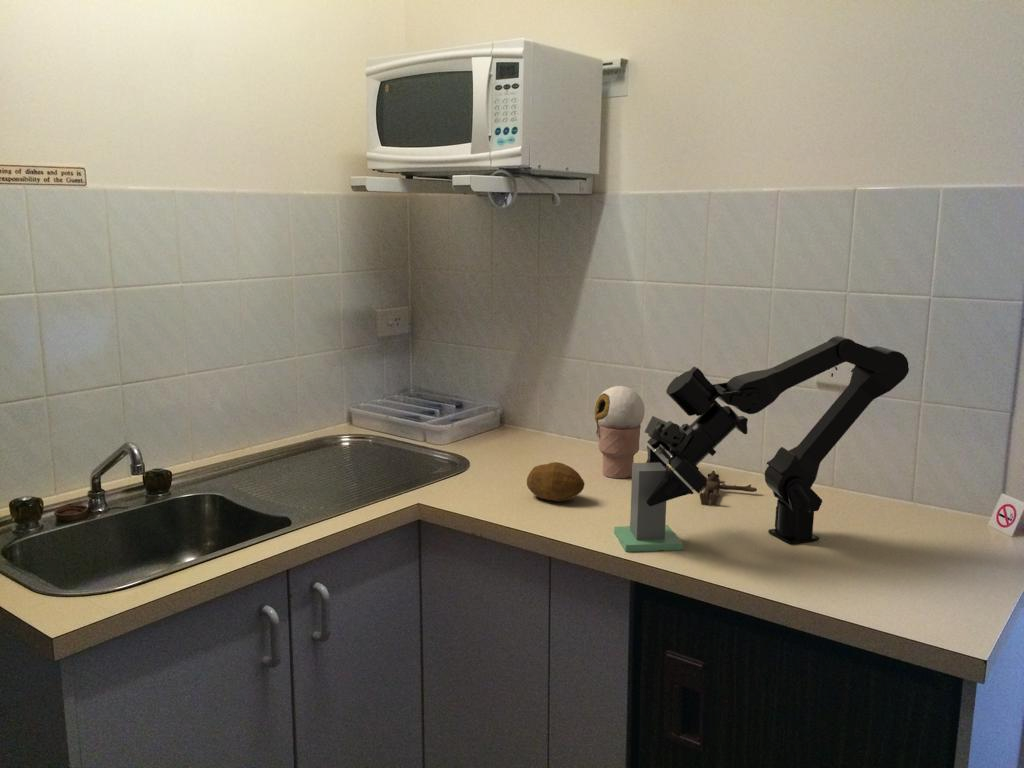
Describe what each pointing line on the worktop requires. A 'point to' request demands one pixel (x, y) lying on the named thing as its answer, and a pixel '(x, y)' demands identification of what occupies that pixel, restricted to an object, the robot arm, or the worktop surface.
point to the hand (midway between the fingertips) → (641, 495)
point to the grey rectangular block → (644, 517)
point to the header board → (647, 541)
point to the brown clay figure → (714, 487)
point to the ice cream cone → (618, 429)
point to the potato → (554, 482)
